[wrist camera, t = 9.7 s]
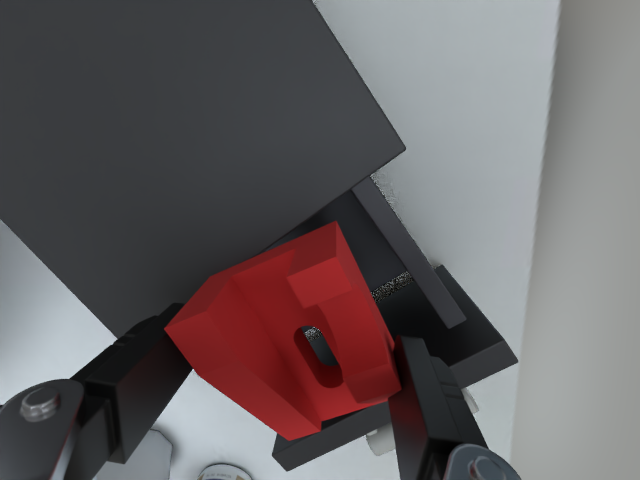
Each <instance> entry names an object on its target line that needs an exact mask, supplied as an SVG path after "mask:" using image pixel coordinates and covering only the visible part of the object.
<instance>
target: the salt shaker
mask: <svg viewBox="0 0 640 480" xmlns="http://www.w3.org/2000/svg"><path fill="white" fill-rule="evenodd" d="M172 446H173V445H172V444H171V443H170V442H169V441H168V440H167V439H166V438H165V437H164V436H163V435H162V434H161V433H160V432H159V431H154V430H149V431H148V432H147V434H146V435H145V437H144V438H143V440H142V441H141V442H140V444H139V445H138V447H137V448H136V449H135V451H134V452H133V454H132V455H131V456H130V458H129V459H128V461H127V462H126V463H125V464H119V463H113V462H108V461H106V463H105V464H104V465H103V467H102V468H101V469H100V470H99V472H98V473H97V480H169V476H170V460H171V452H172Z"/></svg>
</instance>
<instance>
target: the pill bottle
mask: <svg viewBox="0 0 640 480" xmlns="http://www.w3.org/2000/svg"><path fill="white" fill-rule="evenodd" d="M197 480H252V479H251V478H250V476H249V475H248V474H247V473H245V472H244V471H243V470H241V469H239V468H237V467H234V466H230V465H214V466H210V467H208V468H206V469H205V470H203V471H202V473H201V474H200V475H199V477H198V479H197Z"/></svg>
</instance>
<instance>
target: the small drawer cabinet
mask: <svg viewBox="0 0 640 480" xmlns="http://www.w3.org/2000/svg"><path fill="white" fill-rule="evenodd" d="M405 150H406V147H405V145H404V143H403V142H402V140H401V139H400V137H399V136H398V134H397V132H396V131H395V129H394V128H393V126H392V125H391V123H390V122H389V120H388V118H387V117H386V115H385V114H384V112H383V111H382V109H381V108H380V106H379V104H378V103H377V101H376V100H375V98H374V97H373V95H372V93H371V92H370V90H369V89H368V87H367V86H366V84H365V83H364V81H363V79H362V78H361V76H360V75H359V73H358V72H357V70H356V69H355V67H354V65H353V64H352V62H351V61H350V59H349V58H348V56H347V54H346V53H345V51H344V50H343V48H342V47H341V45H340V44H339V42H338V40H337V39H336V37H335V36H334V34H333V33H332V31H331V30H330V28H329V26H328V25H327V23H326V22H325V20H324V19H323V17H322V16H321V14H320V12H319V11H318V9H317V8H316V6H315V5H314V3H313V1H312V0H0V219H1V220H2V221H3V222H4V223H5V224H6V225H7V226H8V227H9V228H10V229H11V230H12V231H13V232H14V233H15V234H16V235H17V236H18V237H19V238H20V239H21V241H22V242H23V243H24V244H25V245H26V246H27V247H28V248H29V249H30V250H31V251H32V252H33V253H34V254H35V255H36V256H37V257H38V258H39V259H40V260H41V261H42V262H43V263H44V264H45V265H46V266H47V267H48V268H49V269H50V270H51V271H52V272H53V273H54V274H55V275H56V276H57V277H58V278H59V279H60V280H61V281H62V282H63V283H64V284H65V285H66V286H67V287H68V289H69V290H70V291H71V292H72V293H73V294H74V295H75V296H76V297H77V298H78V299H79V300H80V301H81V302H82V303H83V304H84V305H85V306H86V307H87V308H88V309H89V310H90V311H91V312H92V313H93V314H94V315H95V316H96V317H97V318H98V319H99V320H100V321H101V322H102V323H103V324H104V325H105V326H106V327H107V328H108V329H109V330H110V331H111V332H112V333H113V334H114V336H115V337H116V338H117V339H119V338H120V337H121V336H124V334H125V333H126V332H127V331H128V330H130V329H131V328H132V327H133V326H134V325H136V324H137V323H139V322H141V321H143V320H145V319H147V318H150V317H152V316H154V315H156V316H159V315H160V314H161V313H162V312H163V311H164V310H165V309H167V308H168V307H169V306H170V305H171V304H173V303H175V302H176V303H183V304H186V303H187V302H188V301H189V300H190V299H191V298H192V296H193V295H194V294H195V293H196V292H197V291H198V290H199V288H200V287H201V286H202V285H203V284H204V283H205V282H206V281H207V279H208V278H209V277H210V276H212V275H215V274H217V273H219V272H221V271H224V270H226V269H228V268H230V267H233V266H235V265H237V264H239V263H242V262H244V261H246V260H248V259H251V258H253V257H255V256H257V255H259V254H260V253H262V252H263V251H265V250H266V249H267V248H269V247H270V246H272V245H273V244H274V243H276V242H277V241H279V240H280V239H281V238H283V237H284V236H286V235H287V234H289V233H290V232H291V231H293V230H294V229H296V228H297V227H298V226H300V225H301V224H303V223H304V222H305V221H307V220H308V219H310V218H311V217H312V216H314V215H315V214H317V213H318V212H319V211H321V210H322V209H324V208H325V207H326V206H328V205H329V204H331V203H332V202H333V201H335V200H336V199H338V198H339V197H340V196H342V195H343V194H345V193H346V192H347V191H349V190H350V189H352V188H353V187H355V186H356V185H357V184H359V183H360V182H362V181H363V180H364V179H366V178H367V177H369V176H370V175H371V174H373V173H374V172H376V171H377V170H378V169H380V168H381V167H383V166H384V165H385V164H387V163H388V162H390V161H391V160H392V159H394V158H395V157H397V156H398V155H399V154H401V153H402V152H404V151H405Z"/></svg>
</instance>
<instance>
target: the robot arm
mask: <svg viewBox="0 0 640 480" xmlns="http://www.w3.org/2000/svg"><path fill="white" fill-rule="evenodd" d="M184 305H185V304H183V303H176V302H175V303H173V304H171V305H170V306H169V307H168V308H167V309H165V310H164V311H163V312H162V313H161V314H160V315H159V316H156V315H154V316H152V317H150V318H147V319H145V320H143V321H141V322H139V323H137V324H136V325H134V326H133V327H132V328H131V329H130V330H128V331H127V332H126V333H125V334H124V336H121V337H120V338H119V339H117V340H116V341H115V342H114V343H113V345H110V346H109V347H108V348H106V349H105V350H104V351H103V352H101V353H100V354H99V355H98V356H97V357H95V358H94V359H93V360H92V361H90V362H89V363H88V364H87V365H86V366H84V367H83V368H82V369H81V370H80V371H78V372H77V373H76V374H75V375H73V376H72V377H71V378H70V379H58V380H52V381H47V382H44V383H40V384H37V385H35V386H32V387H30V388H28V389H26V390H24V391H22V392H20V393H18V394H17V395H15V396H14V397H12V398H11V399H10V400H8V401H7V402H6V403H5V404H4V405H0V480H97V473H98V472H99V470H100V469H101V468H102V467H103V465H104V464H105V463H106V461H108V462H113V463H119V464H125V463H126V462H127V461H128V459H129V458H130V456H131V455H132V454H133V452H134V451H135V449H136V448H137V447H138V445H139V444H140V442H141V441H142V440H143V438H144V437H145V435H146V434H147V432H148V431H149V430H150V428H151V427H152V425H153V424H154V423H155V421H156V420H157V418H158V417H159V416H160V414H161V413H162V411H163V410H164V409H165V407H166V406H167V404H168V403H169V402H170V400H171V399H172V397H173V396H174V395H175V393H176V392H177V390H178V389H179V388H180V386H181V385H182V383H183V382H184V380H185V379H186V378H187V376H188V375H189V373H190V372H191V371H192V369H193V368H192V366H191V365H190V363H189V362H188V361H187V359H186V358H185V357H184V355H183V354H182V353H181V351H180V350H179V349H178V347H177V346H176V344H175V343H174V342H173V340H172V339H171V338H170V336H169V335H168V334H167V332H166V331H165V330H164V328H165V327H166V326H167V325H168V324H169V322H170V321H171V320H172V319H173V318H174V317H175V316H176V314H177V313H178V312H179V311H180V310H181V309H182V308H183V307H184ZM393 354H394V358H395V362H396V366H397V370H398V375H399V379H400V383H401V387H402V390H400V391H398V392H397V393H395V394H394V395H392V396H390V397H389V398H388V403H389V410H390V416H391V422H392V429H393V435H394V441H395V447H396V454H397V460H398V466H399V472H400V479H401V480H521V478H520V476H519V475H518V474H517V472H516V471H515V470H514V469H513V468H512V467H511V466H510V465H509V464H508V463H507V462H506V461H505V460H504V459H503V458H501V457H500V456H499V455H497V454H496V453H494V452H492V451H491V450H489V448H488V446H487V444H486V442H485V440H484V438H483V436H482V433H481V431H480V429H479V427H478V425H477V423H476V421H475V419H474V416H473V414H472V412H471V410H470V408H469V406H468V404H467V402H466V400H464V395H463V393H462V391H461V389H460V388H459V387H458V383H457V380H456V378H455V376H454V374H453V372H452V370H451V369H450V368H449V367H448V366H447V365H446V364H445V363H444V362H443V361H442V360H441V359H440V358H439V357H432V356H430V355H429V353H428V350H427V348H426V345H425V343H424V340H423V339H422V338H417V337H410V336H403V335H397V337H396V340H395V344H394V349H393Z"/></svg>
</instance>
